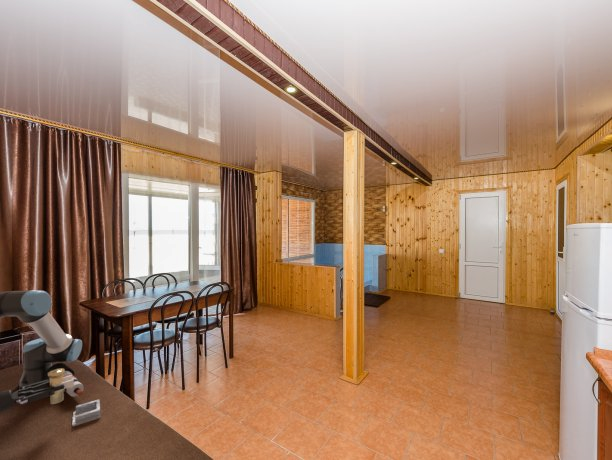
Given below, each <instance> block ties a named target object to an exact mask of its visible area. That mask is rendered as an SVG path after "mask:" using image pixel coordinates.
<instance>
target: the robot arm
mask: <svg viewBox="0 0 612 460" xmlns="http://www.w3.org/2000/svg"><path fill="white" fill-rule="evenodd" d="M52 305H53V303H52V297H51V295H50V294H49V293H48V292H47V291H45V290H36V289H32V290H14V291H12V290H8V291H2V292H0V319H3V318H6V317H16V318H18V320H20V322H22V323H24V324H28V325H29V326H30V327H31V328H32V329H33V330H34V332H35V333H36V334H37V335H38V337H39V338H36V339H34V340H31V341H28V342H27V343H25V344H24V345H23V350H22V355H23V357H22V359H23V373H22V375H21V377H20V379H19V389H18V390H16V391H13V392H12V389H6V390H4V391H0V413H3V412H7V411H10V410H12V407H13V405H18V404H20V406H26V405H27V404H30V403H33V402H36V401H40V400H42V399H45V398H48V397H50V396H52V395H54V394H55V392H56V391H59V390H62V389H66V388H69V387H72V386H74V380H72V375H70V376H66V377H63V383H59V384H56V385H54V386H53V387H50V379H48V380H46V379H45V373H46V371H47V370H48V369H49V368H50V367H51V366H52V365H53V363H54V364H55V363H69V362H70V363H71V362H74V361H76V360H77V359H78V358H79V356H80V355H81V353H82V349H83V348H82V347H83V341H82V340H81V339H78V338H75V339H74V338H73V336H72V335H70V334H69V333H65V332H64V330H63V329H62V327H61V326H60V325H59V323H58V322H57V321H56V319H55V318H54V317H53V316H52V314H51V312H50V311H51V307H52Z"/></svg>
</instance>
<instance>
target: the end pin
mask: <svg viewBox="0 0 612 460" xmlns="http://www.w3.org/2000/svg"><path fill="white" fill-rule="evenodd" d="M64 373H65V369H63V368H60V369H55V370H52V371H50V372H49V373H48V377H49V378H50V387H53V386H54V385H56V384H59V383H63V374H64ZM64 392H65V391H64V389H62V390H59V391H56V392H55V394H54V395H52V396H49V397H50V398H49V399H50V400H49V401H50V402H49V403H50V405H56V404H59V403H61V402H62V401H64V399H65V398H64V397H65V394H64Z"/></svg>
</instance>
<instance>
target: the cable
mask: <svg viewBox="0 0 612 460" xmlns="http://www.w3.org/2000/svg"><path fill="white" fill-rule="evenodd" d="M60 368H63V369H65V373H64V374H63V377H66V376H70V375H72V380H74V386H72V387H69V388H66V389H64V392H65V393H66V394H68V395H69V396H71V397H78V396H79V397H81V396H83V395H84V388H85V387H84V385H83V383H81V381H80V380H78V378H77V377H76V376H75V371H74V370H73V369H72V368H71V367H70V366H68V365H67V364H66V363H65V362H56V363H54V364H52V366H51V367H50V368H49V369H48V370H47V371H46V373H45V379H46V380H48V379H50V378H49V377H48V373H49V372H50V371H52V370H55V369H60Z"/></svg>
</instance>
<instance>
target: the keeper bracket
mask: <svg viewBox="0 0 612 460" xmlns="http://www.w3.org/2000/svg"><path fill="white" fill-rule="evenodd" d="M100 418H101V402H100V399H95V400H91V401H89V402H84V403H81V404H77V405H76V406H75V410H74V411H73V414H72V423H71V424H72V425H71V426H72V427H76V426H80V425H83V424H86V423H89V422H93V421H95V420H98V419H100Z"/></svg>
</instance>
